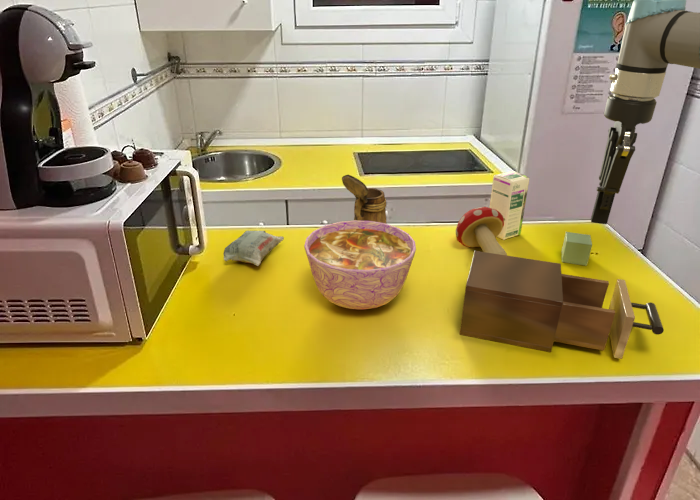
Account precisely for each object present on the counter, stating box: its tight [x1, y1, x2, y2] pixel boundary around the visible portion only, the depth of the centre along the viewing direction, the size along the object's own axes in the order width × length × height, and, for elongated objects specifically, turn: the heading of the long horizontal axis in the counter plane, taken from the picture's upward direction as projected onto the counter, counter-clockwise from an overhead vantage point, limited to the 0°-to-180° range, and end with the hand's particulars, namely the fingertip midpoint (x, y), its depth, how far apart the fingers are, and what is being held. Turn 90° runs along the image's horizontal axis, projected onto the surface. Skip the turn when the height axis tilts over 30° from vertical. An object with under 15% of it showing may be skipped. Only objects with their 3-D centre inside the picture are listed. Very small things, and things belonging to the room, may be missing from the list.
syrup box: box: [489, 170, 530, 241], centre depth 120 cm, size 6×6×14 cm
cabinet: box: [459, 250, 563, 353], centre depth 89 cm, size 15×13×10 cm
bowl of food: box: [303, 219, 417, 311], centre depth 96 cm, size 20×20×12 cm
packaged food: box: [223, 230, 285, 267], centre depth 111 cm, size 9×12×5 cm
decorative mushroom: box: [455, 206, 508, 256], centre depth 112 cm, size 11×11×15 cm
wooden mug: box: [341, 174, 388, 224], centre depth 115 cm, size 9×14×18 cm, turn 145°
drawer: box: [554, 273, 665, 360], centre depth 86 cm, size 19×12×8 cm, turn 72°
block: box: [561, 231, 593, 267], centre depth 111 cm, size 5×5×5 cm
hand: (598, 221), depth 99 cm, fingers closed
